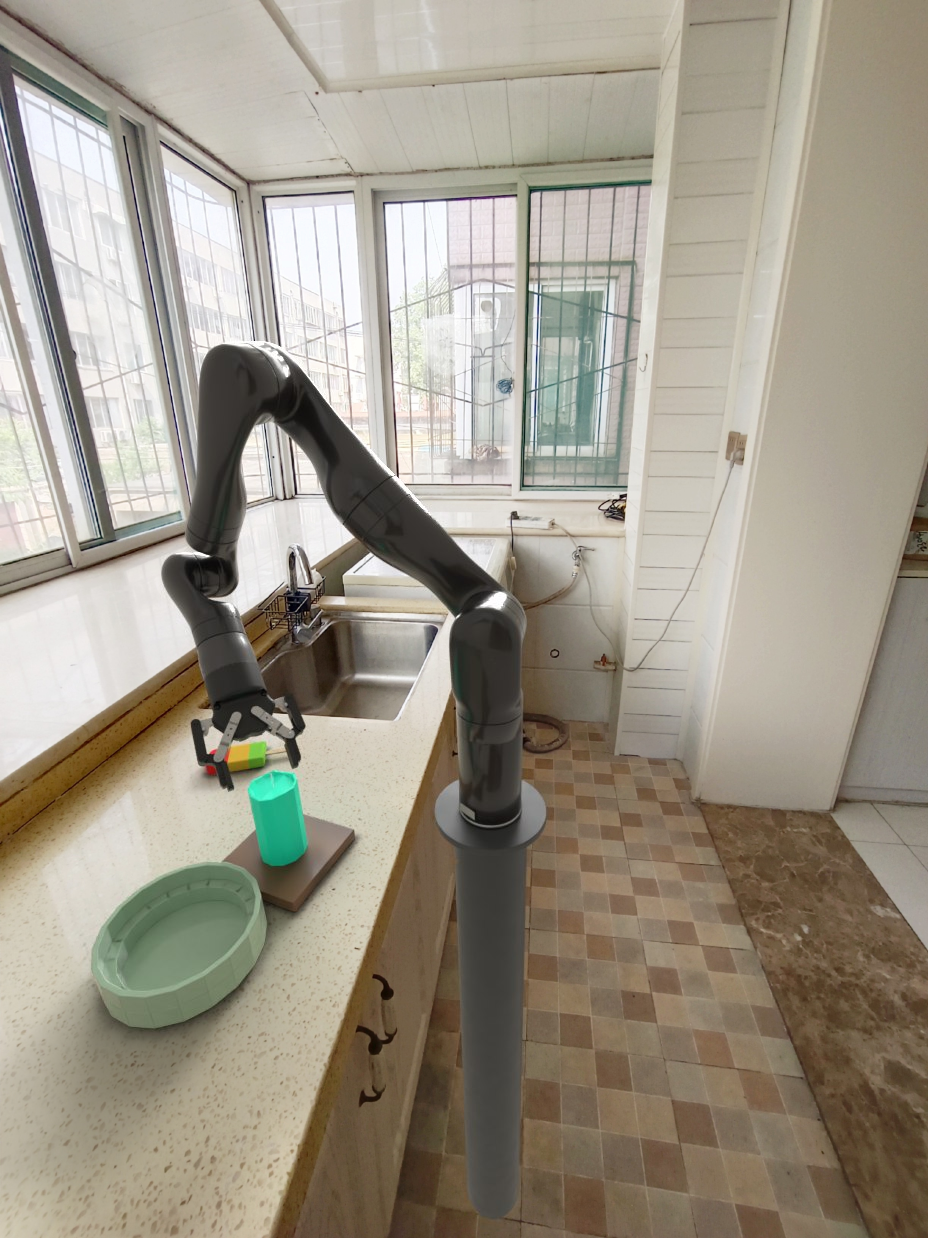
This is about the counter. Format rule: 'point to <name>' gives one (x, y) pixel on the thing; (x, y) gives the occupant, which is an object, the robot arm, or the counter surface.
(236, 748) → the popsicle
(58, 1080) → the counter surface
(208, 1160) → the counter surface
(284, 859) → the candle
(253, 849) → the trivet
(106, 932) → the bowl
